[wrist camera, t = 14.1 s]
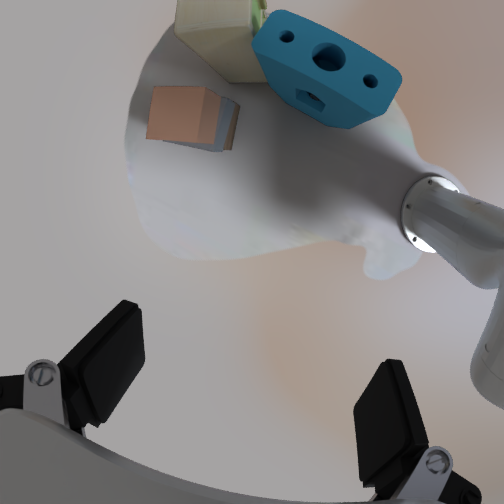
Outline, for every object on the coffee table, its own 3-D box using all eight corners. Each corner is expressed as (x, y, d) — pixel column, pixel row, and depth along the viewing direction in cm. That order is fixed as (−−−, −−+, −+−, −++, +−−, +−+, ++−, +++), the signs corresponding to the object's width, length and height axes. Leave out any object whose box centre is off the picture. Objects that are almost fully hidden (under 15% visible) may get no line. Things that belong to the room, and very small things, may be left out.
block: (270, 95, 36) (246, 48, 18) (286, 69, 34) (275, 6, 16) (341, 135, 37) (380, 120, 18) (357, 108, 35) (405, 75, 16)
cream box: (277, 84, 35) (257, 25, 16) (228, 84, 36) (170, 35, 17) (277, 39, 33) (259, -39, 13) (230, 40, 34) (179, -28, 14)
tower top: (235, 103, 33) (227, 97, 29) (222, 151, 36) (212, 151, 32) (188, 95, 34) (175, 89, 30) (176, 141, 36) (162, 141, 32)
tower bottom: (240, 106, 38) (233, 101, 33) (231, 150, 40) (224, 149, 36) (197, 101, 38) (186, 96, 34) (189, 143, 41) (177, 143, 37)
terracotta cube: (221, 97, 29) (205, 86, 24) (213, 144, 32) (196, 142, 26) (176, 95, 30) (154, 86, 24) (169, 139, 32) (145, 139, 27)
